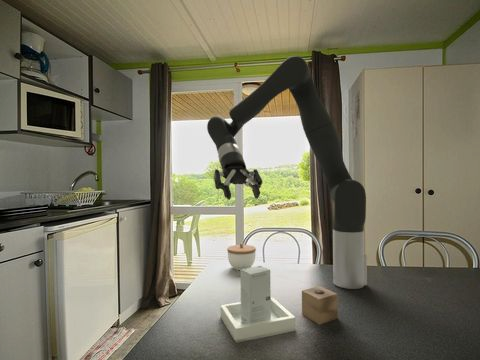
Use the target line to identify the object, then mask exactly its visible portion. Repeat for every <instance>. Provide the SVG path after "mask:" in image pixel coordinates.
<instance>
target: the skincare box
mask: <svg viewBox="0 0 480 360" xmlns="http://www.w3.org/2000/svg"><path fill="white" fill-rule="evenodd" d="M239 272H240V302H241V321H242V322H244V323H245V324H250V323H255V322H261V321H266V320H271V297H272V296H271V269H269V268H267V267H264V266H262V265H257V266H251V267H250V268H246V269H241V271H239Z"/></svg>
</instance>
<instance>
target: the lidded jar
mask: <svg viewBox="0 0 480 360" xmlns="http://www.w3.org/2000/svg"><path fill="white" fill-rule="evenodd" d="M226 249H227V258H228V260H227V261H228V263H229V264H230V266H231V268H233V269H234V270H235V269H236V270H235V271H238V270H240V271H241V269H246V268H250V267H253V265H254V263H255V260H256V251H257V248H256V247H255V246H253V245H249V244H244V243H242V242H241V243H239V244H234V245H229V246H228V247H227V248H226ZM240 271H239V272H240Z"/></svg>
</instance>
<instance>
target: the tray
mask: <svg viewBox="0 0 480 360" xmlns="http://www.w3.org/2000/svg"><path fill="white" fill-rule="evenodd" d="M219 309H220V319H221V320H222V322H223V324H224V325H225V327H226V329H227V330H228V332H229V334H230V336H231V337H232V338H233V341H234V342H235V343H236V344H239V343H243V342H248V341H253V340H258V339H263V338H267V337H272V336H277V335H281V334H282V335H283V334H287V333H291V332H295V331H296V328H297V327H296V324H297V323H296V317H295V315H293V313H291V312H290V311H289V310H288V309H286V308H285V307H284V306H283V305H282V304H281V303H280V302H278V301H277V300H276V298H274V297H273V296H271V320H266V321H261V322H255V323H250V324H245V323H244V322H242V321H241V301H238V302H233V303H227V304H222V305H220V308H219Z"/></svg>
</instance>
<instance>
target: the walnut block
mask: <svg viewBox="0 0 480 360" xmlns="http://www.w3.org/2000/svg"><path fill="white" fill-rule="evenodd" d="M338 301H339V300H338V293H336V292H335V291H334V292H333V291H332V290H329V289H327V288H325V287H322V286H320V285H319V286H314V287H310V288H306V289H303V290H301V315H302V316H304V317H306V318H308V319H309V320H311V321H312V322H314V323H316V324H318V325H323V324H325V323H328V322H331V321H334V320H337V319H339V318H338V317H339V314H338V313H339V311H338V303H339V302H338Z"/></svg>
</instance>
